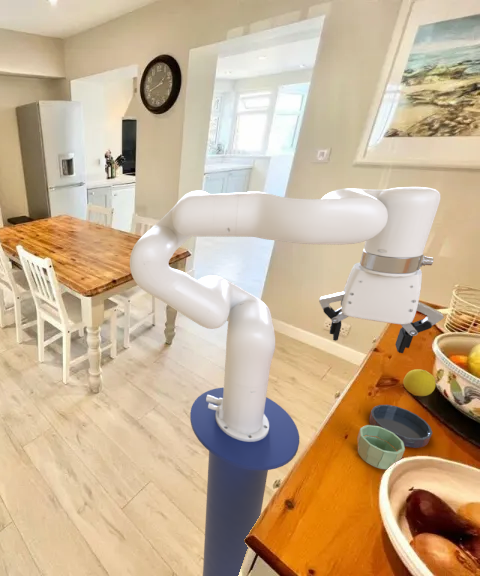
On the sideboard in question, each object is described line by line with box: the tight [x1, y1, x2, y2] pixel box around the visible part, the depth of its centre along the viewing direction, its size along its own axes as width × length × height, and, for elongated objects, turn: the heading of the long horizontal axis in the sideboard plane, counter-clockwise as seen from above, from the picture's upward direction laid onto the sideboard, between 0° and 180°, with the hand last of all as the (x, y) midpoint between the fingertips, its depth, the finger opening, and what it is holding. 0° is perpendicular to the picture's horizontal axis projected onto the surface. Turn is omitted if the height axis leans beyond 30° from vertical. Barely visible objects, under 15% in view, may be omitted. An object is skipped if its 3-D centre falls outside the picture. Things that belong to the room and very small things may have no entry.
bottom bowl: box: [368, 404, 433, 449], centre depth 70 cm, size 10×10×2 cm
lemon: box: [402, 368, 437, 397], centre depth 77 cm, size 6×6×8 cm
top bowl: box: [356, 424, 406, 470], centre depth 64 cm, size 7×7×6 cm
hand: (365, 343), depth 60 cm, fingers open, 9 cm apart
